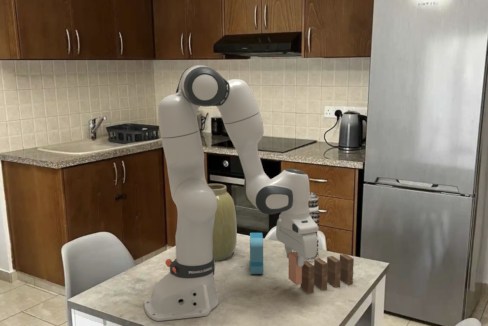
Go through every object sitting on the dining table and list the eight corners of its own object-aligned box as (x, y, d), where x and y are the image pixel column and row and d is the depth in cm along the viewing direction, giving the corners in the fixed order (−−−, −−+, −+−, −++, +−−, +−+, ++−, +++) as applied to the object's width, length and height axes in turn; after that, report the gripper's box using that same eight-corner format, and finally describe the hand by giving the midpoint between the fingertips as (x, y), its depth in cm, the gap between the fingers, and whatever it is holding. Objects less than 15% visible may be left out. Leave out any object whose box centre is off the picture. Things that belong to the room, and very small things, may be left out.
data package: (263, 275, 171) (263, 242, 169) (250, 275, 171) (250, 242, 169) (262, 262, 183) (262, 231, 180) (249, 262, 183) (249, 231, 180)
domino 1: (296, 284, 155) (296, 257, 153) (288, 278, 159) (288, 252, 158) (301, 283, 156) (301, 256, 154) (293, 277, 160) (294, 251, 158)
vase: (188, 249, 196) (186, 183, 191) (229, 244, 201) (229, 180, 196) (197, 265, 180) (195, 193, 175) (242, 260, 185) (242, 190, 180)
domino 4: (334, 287, 161) (335, 262, 160) (326, 282, 166) (327, 256, 164) (339, 286, 162) (340, 261, 160) (331, 280, 167) (332, 255, 165)
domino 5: (347, 285, 163) (348, 259, 162) (338, 279, 168) (339, 254, 166) (352, 284, 164) (353, 258, 162) (343, 278, 169) (344, 253, 167)
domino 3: (321, 290, 159) (322, 264, 158) (313, 284, 164) (314, 259, 162) (326, 289, 160) (327, 263, 158) (318, 283, 165) (319, 258, 163)
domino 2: (308, 293, 157) (308, 267, 156) (300, 287, 162) (301, 261, 160) (313, 292, 158) (314, 266, 157) (305, 286, 163) (306, 260, 161)
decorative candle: (292, 260, 184) (293, 195, 179) (297, 251, 193) (298, 189, 188) (316, 263, 182) (318, 197, 177) (320, 254, 190) (322, 191, 185)
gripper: (271, 212, 162) (271, 252, 164) (302, 231, 143) (302, 275, 146) (288, 210, 164) (288, 249, 167) (321, 228, 146) (320, 271, 148)
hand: (294, 261), depth 156 cm, fingers closed on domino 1, 5 cm apart
